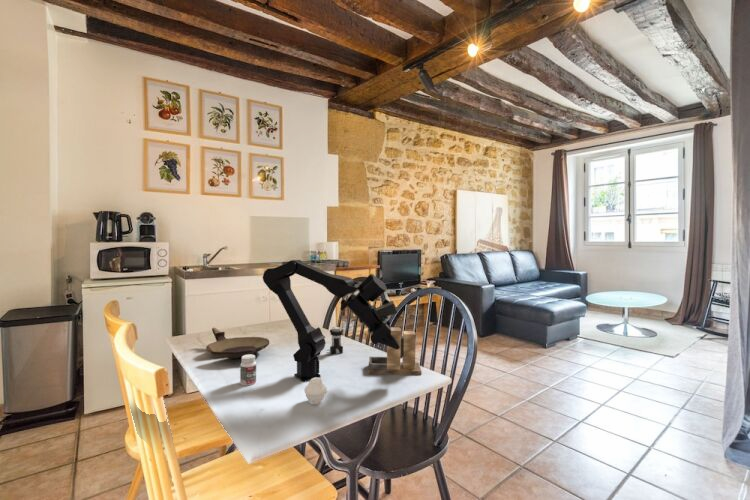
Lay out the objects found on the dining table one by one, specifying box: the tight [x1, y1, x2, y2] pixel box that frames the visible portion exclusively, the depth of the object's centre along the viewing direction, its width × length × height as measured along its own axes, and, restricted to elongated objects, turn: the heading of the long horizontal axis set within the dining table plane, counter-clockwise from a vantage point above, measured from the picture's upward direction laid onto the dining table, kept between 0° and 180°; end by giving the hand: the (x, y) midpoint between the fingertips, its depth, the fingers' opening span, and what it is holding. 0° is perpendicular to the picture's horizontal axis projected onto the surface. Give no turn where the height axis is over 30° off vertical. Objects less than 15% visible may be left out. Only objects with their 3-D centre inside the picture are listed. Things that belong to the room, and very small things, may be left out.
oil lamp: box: [206, 327, 270, 359], centre depth 138 cm, size 22×30×8 cm
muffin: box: [304, 377, 328, 406], centre depth 99 cm, size 6×6×7 cm
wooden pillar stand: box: [367, 330, 422, 376], centre depth 124 cm, size 18×8×13 cm, turn 90°
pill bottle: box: [239, 354, 257, 387], centre depth 111 cm, size 5×5×8 cm
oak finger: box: [386, 326, 403, 369], centre depth 111 cm, size 5×4×12 cm
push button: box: [325, 326, 344, 355], centre depth 140 cm, size 7×5×10 cm
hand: (398, 346), depth 111 cm, fingers closed on oak finger, 4 cm apart
